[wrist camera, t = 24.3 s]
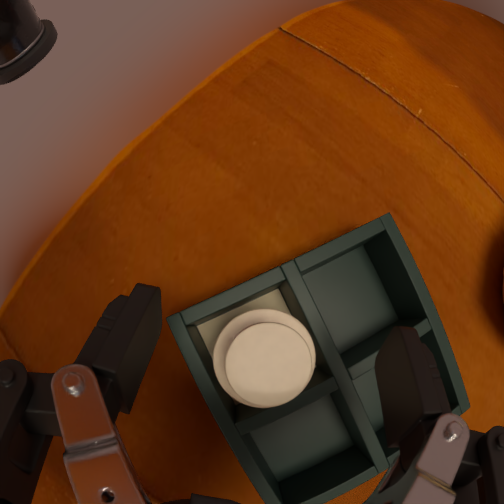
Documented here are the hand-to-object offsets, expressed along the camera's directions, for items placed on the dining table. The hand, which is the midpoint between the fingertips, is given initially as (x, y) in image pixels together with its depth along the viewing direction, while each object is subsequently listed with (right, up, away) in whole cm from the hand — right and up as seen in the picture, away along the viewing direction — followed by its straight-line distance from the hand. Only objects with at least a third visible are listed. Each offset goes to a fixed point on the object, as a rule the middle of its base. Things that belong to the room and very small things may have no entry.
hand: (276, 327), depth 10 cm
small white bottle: (0, -3, +8) cm, 9 cm away
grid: (+4, -5, +9) cm, 11 cm away
